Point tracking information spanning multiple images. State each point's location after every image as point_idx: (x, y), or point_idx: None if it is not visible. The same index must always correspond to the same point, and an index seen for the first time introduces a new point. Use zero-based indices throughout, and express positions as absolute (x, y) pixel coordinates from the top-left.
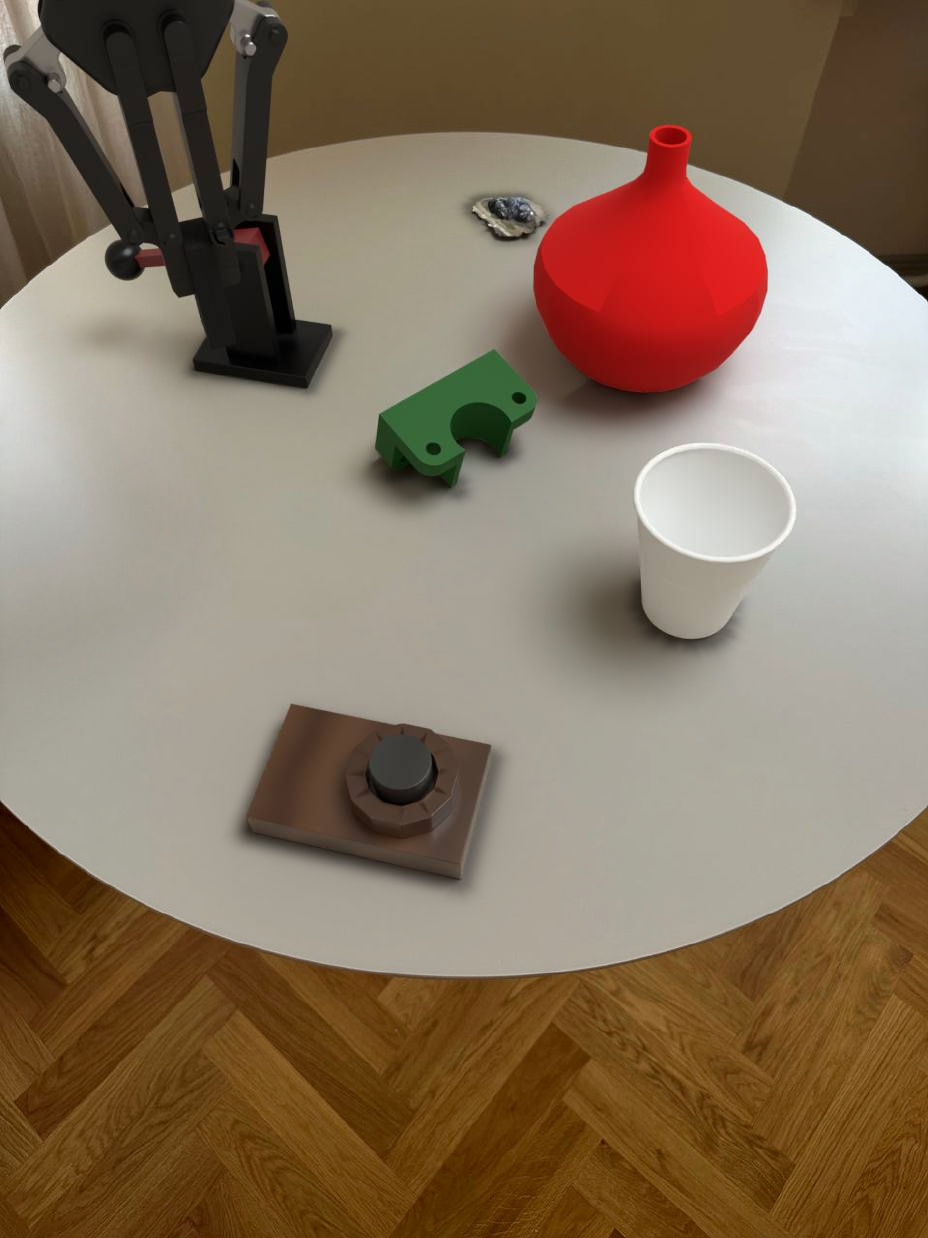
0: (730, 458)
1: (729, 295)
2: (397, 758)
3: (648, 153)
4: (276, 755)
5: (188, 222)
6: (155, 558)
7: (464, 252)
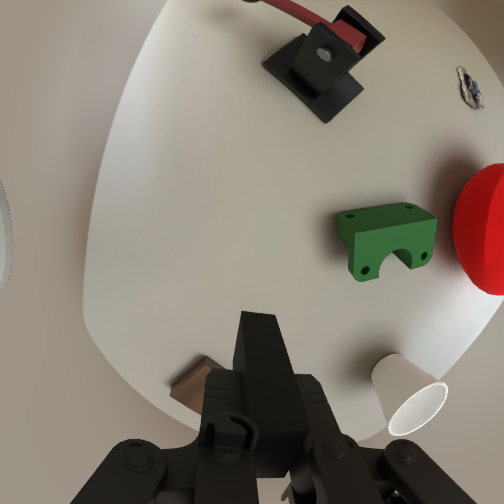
0: (443, 386)
1: None
2: None
3: None
4: (189, 382)
5: (277, 432)
6: (171, 218)
7: (446, 90)
